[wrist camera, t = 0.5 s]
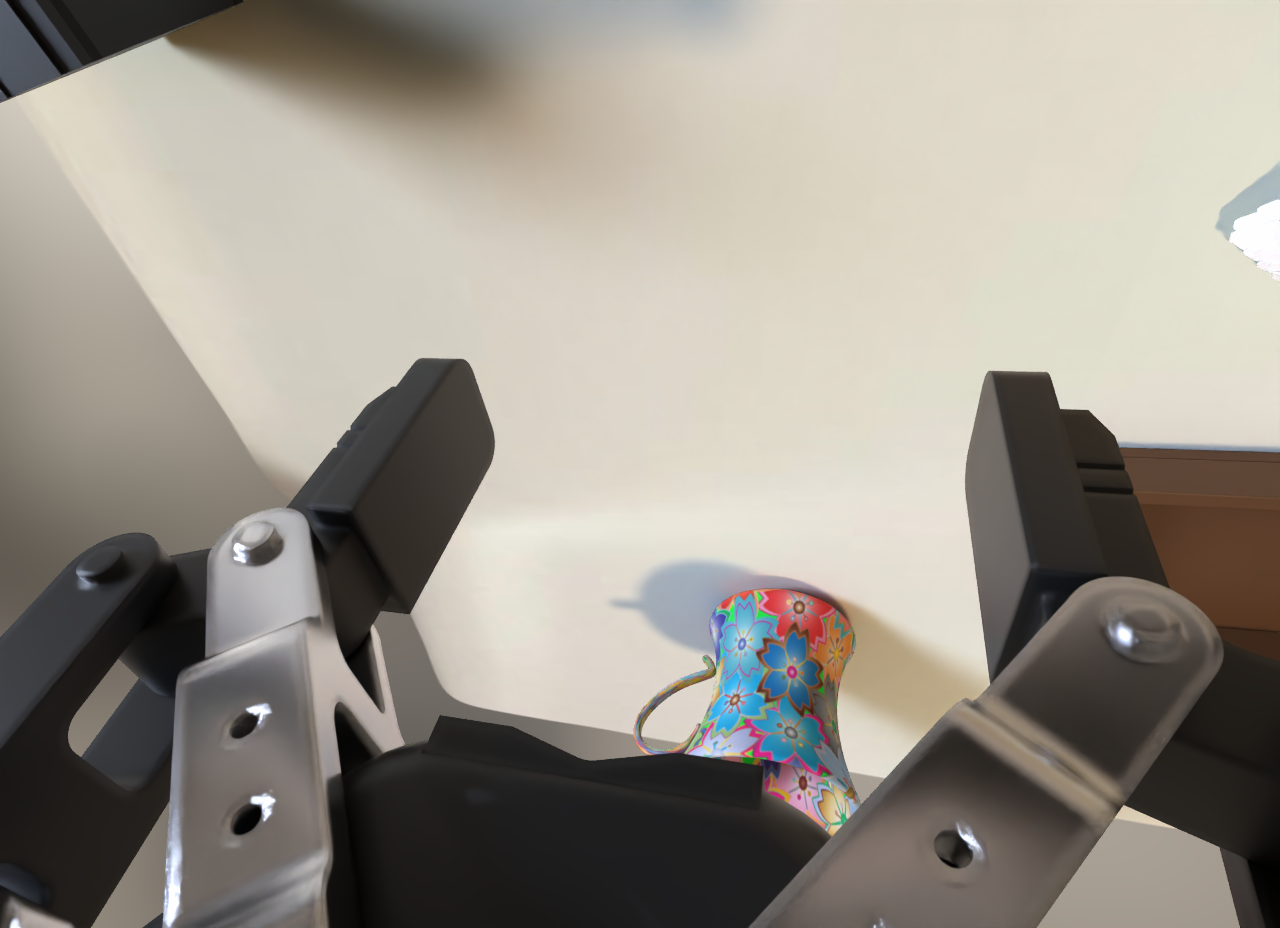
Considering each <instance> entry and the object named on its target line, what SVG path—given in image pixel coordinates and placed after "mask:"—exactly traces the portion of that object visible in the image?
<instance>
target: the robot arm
mask: <svg viewBox="0 0 1280 928" xmlns="http://www.w3.org/2000/svg"><path fill="white" fill-rule="evenodd" d="M350 427H351V430H347V431H346V432H345V434H344V435H343V436H342V438H341V439H340V440H339V441H338V443H337V448H333V449H332V450H331V452H330V453H329V454H328V455H327V457H326V458H325V459H324V460H323V462H322V463H321V464H320V466H319V467H318V468H317V469H316V471H315V472H314V473H313V474H312V476H311V477H310V478H309V480H308V481H307V482H306V483H305V485H304V486H303V487H302V488H301V490H300V491H299V492H298V494H297V495H296V496H295V497H294V499H293V500H292V501H291V503H290V504H289V505H288V506H287V508H274V509H268V510H264V511H261V512H258V513H255V514H253V515H250V516H248V517H246V518H244V519H242V520H241V521H239V522H238V523H236V524H235V525H233V526H232V527H231V528H229V529H228V530H227V531H225V532H224V533H223V534H222V536H221V537H219V539H218V540H217V541H216V543H215V544H214V545H213V547H212V548H210V549H205V550H199V551H194V552H188V553H183V554H177V555H172V556H168V554H167V553H166V552H165V551H164V550H163V548H162V547H161V546H160V545H159V544H158V542H157V541H156V540H155V539H154V538H153V537H152V536H150V535H148V534H144V533H128V534H122V535H119V536H115V537H112V538H110V539H107V540H104V541H102V542H100V543H98V544H96V545H94V546H93V547H91V548H89V549H88V550H86V551H85V552H83V553H82V554H80V555H79V556H78V557H77V558H75V559H74V560H73V561H72V562H71V563H70V564H69V565H68V566H67V567H66V568H65V569H64V570H63V571H62V572H61V573H60V574H59V575H58V576H57V577H56V578H55V580H54V581H53V582H52V583H51V584H50V585H49V586H48V587H47V588H46V589H45V590H44V591H43V592H42V594H41V595H40V596H39V597H38V598H37V599H36V600H35V601H34V602H33V603H32V604H31V605H30V606H29V607H28V609H27V610H26V611H25V612H24V613H23V614H22V615H21V616H20V617H19V618H18V619H17V620H16V621H15V622H14V624H13V625H12V626H11V627H10V628H9V629H8V630H7V631H6V632H5V633H4V634H3V635H2V636H1V637H0V928H91V926H92V925H93V923H94V922H95V920H96V918H97V917H98V915H99V913H100V912H101V910H102V909H103V907H104V906H105V904H106V902H107V901H108V899H109V897H110V896H111V894H112V893H113V891H114V889H115V888H116V886H117V885H118V883H119V881H120V880H121V878H122V877H123V875H124V873H125V872H126V870H127V868H128V867H129V865H130V864H131V862H132V860H133V859H134V857H135V856H136V854H137V852H138V851H139V849H140V847H141V846H142V844H143V843H144V841H145V839H146V838H147V836H148V835H149V833H150V831H151V830H152V828H153V826H154V825H155V823H156V822H157V820H158V818H159V816H160V815H161V814H162V812H163V810H164V809H165V807H166V806H167V804H168V802H169V801H170V806H169V824H168V842H167V861H166V878H165V897H164V912H163V913H161V914H160V915H159V916H158V917H156V918H155V919H153V920H152V921H151V922H149V923H148V924H147V925H146V926H144V927H143V928H1036V927H1037V926H1038V925H1039V923H1040V922H1041V921H1042V919H1043V918H1044V916H1045V915H1046V914H1047V912H1048V911H1049V909H1050V908H1051V906H1052V905H1053V904H1054V902H1055V901H1056V899H1057V898H1058V897H1059V895H1060V894H1061V892H1062V891H1063V889H1064V888H1065V886H1066V885H1067V884H1068V883H1069V881H1070V880H1071V878H1072V877H1073V876H1074V874H1075V873H1076V871H1077V870H1078V868H1079V867H1080V866H1081V864H1082V863H1083V861H1084V860H1085V859H1086V857H1087V856H1088V854H1089V853H1090V852H1091V850H1092V849H1093V847H1094V846H1095V845H1096V843H1097V842H1098V840H1099V839H1100V837H1101V836H1102V835H1103V833H1104V832H1105V830H1106V829H1107V827H1108V826H1109V825H1110V823H1111V822H1112V821H1113V819H1114V818H1115V816H1116V815H1117V813H1118V812H1119V811H1120V809H1121V808H1122V806H1123V805H1125V806H1127V807H1130V808H1132V809H1134V810H1136V811H1139V812H1141V813H1143V814H1146V815H1148V816H1150V817H1152V818H1155V819H1157V820H1159V821H1161V822H1164V823H1166V824H1168V825H1171V826H1173V827H1175V828H1177V829H1180V830H1182V831H1184V832H1187V833H1189V834H1191V835H1193V836H1196V837H1198V838H1200V839H1203V840H1205V841H1207V842H1209V843H1212V844H1214V845H1216V846H1218V847H1220V851H1221V855H1222V858H1223V862H1224V867H1225V870H1226V874H1227V878H1228V882H1229V886H1230V890H1231V894H1232V898H1233V902H1234V906H1235V909H1236V913H1237V917H1238V921H1239V925H1240V928H1280V661H1277V660H1274V659H1271V658H1268V657H1265V656H1262V655H1259V654H1256V653H1253V652H1251V651H1248V650H1245V649H1243V648H1240V647H1238V646H1236V645H1234V644H1232V643H1230V642H1228V641H1226V640H1224V639H1222V638H1221V637H1220V635H1219V633H1218V631H1217V629H1216V628H1215V626H1214V624H1213V623H1212V622H1211V620H1210V619H1209V618H1208V617H1207V616H1206V614H1205V613H1203V612H1202V611H1201V610H1200V609H1199V608H1198V607H1197V606H1196V605H1195V604H1193V603H1192V602H1191V601H1189V600H1188V599H1186V598H1185V597H1183V596H1182V595H1180V594H1178V593H1176V592H1175V591H1173V590H1171V588H1170V586H1169V584H1168V581H1167V579H1166V576H1165V573H1164V570H1163V568H1162V565H1161V562H1160V559H1159V557H1158V554H1157V551H1156V548H1155V546H1154V543H1153V540H1152V537H1151V535H1150V532H1149V529H1148V526H1147V523H1146V521H1145V518H1144V515H1143V512H1142V510H1141V507H1140V504H1139V501H1138V499H1137V496H1136V495H1134V494H1133V491H1134V488H1133V485H1132V482H1131V479H1130V477H1129V474H1128V471H1125V463H1124V460H1123V457H1122V454H1121V452H1120V449H1119V446H1118V443H1117V441H1116V438H1115V436H1114V435H1113V434H1112V433H1111V432H1110V431H1109V430H1108V429H1107V428H1106V427H1105V426H1104V425H1103V424H1102V423H1101V422H1100V421H1099V420H1098V419H1097V418H1096V417H1095V416H1094V415H1093V414H1092V413H1091V412H1090V411H1089V410H1069V409H1060V407H1059V404H1058V401H1057V397H1056V394H1055V390H1054V387H1053V383H1052V380H1051V377H1050V375H1049V373H1047V372H1015V371H988V372H987V374H986V376H985V379H984V382H983V386H982V391H981V395H980V400H979V405H978V409H977V414H976V418H975V423H974V427H973V432H972V436H971V441H970V445H969V450H968V455H967V462H966V474H965V491H966V501H967V509H968V516H969V524H970V532H971V539H972V547H973V555H974V563H975V570H976V578H977V586H978V593H979V601H980V609H981V617H982V624H983V632H984V640H985V647H986V655H987V663H988V671H989V678H990V686H989V687H988V688H987V689H986V690H985V691H984V692H983V693H982V694H981V695H980V696H979V697H978V698H977V699H976V700H974V701H971V700H969V699H967V698H965V699H962V700H961V701H959V702H958V703H956V704H955V705H954V706H953V707H952V708H950V709H949V710H948V711H947V712H946V713H945V714H944V715H943V716H942V717H941V719H940V720H939V721H938V722H937V723H936V724H935V725H934V726H933V727H932V728H931V729H930V731H929V732H928V733H927V734H926V735H925V736H924V737H923V738H922V739H921V740H920V741H919V742H918V744H917V745H916V746H915V747H914V748H913V749H912V750H911V751H910V752H909V753H908V754H907V756H906V757H905V758H904V759H903V760H902V761H901V762H900V763H899V764H898V765H897V766H896V767H895V769H894V770H893V771H892V772H891V773H890V774H889V775H888V776H887V777H886V778H885V779H884V781H883V782H882V783H881V784H880V785H879V786H878V787H877V788H876V789H875V790H874V791H873V793H872V794H871V795H870V796H869V797H868V798H867V799H866V800H865V801H864V802H863V803H862V804H861V806H860V807H859V808H858V809H857V810H856V811H855V812H854V813H853V814H852V815H851V816H850V817H849V819H848V820H847V821H846V822H845V823H844V824H843V825H842V826H841V827H840V828H839V829H838V831H837V832H836V833H835V834H834V835H833V836H831V835H830V834H829V833H828V832H827V831H826V830H825V829H824V828H823V827H821V826H820V825H819V824H818V823H816V822H815V821H814V820H813V819H811V818H810V817H809V816H808V815H806V814H805V813H804V812H802V811H800V810H799V809H797V808H796V807H794V806H792V805H791V804H789V803H787V802H786V801H784V800H782V799H780V798H778V797H776V796H774V795H772V794H769V793H767V792H765V777H764V766H760V765H754V764H747V763H741V762H735V761H728V760H722V759H715V758H709V757H703V756H696V755H690V754H684V753H667V754H657V755H647V756H638V757H626V758H616V759H606V760H597V761H589V760H583V759H580V758H577V757H576V756H573V755H571V754H569V753H567V752H565V751H563V750H560V749H558V748H556V747H554V746H552V745H550V744H548V743H546V742H544V741H542V740H540V739H538V738H535V737H533V736H531V735H529V734H527V733H525V732H523V731H520V730H519V729H516V728H514V727H511V726H504V725H498V724H492V723H486V722H479V721H473V720H467V719H460V718H454V717H448V716H441V715H440V716H439V718H438V721H437V723H436V725H435V727H434V730H433V732H432V734H431V736H430V738H429V740H424V741H419V742H415V743H411V744H407V745H405V744H404V741H403V739H402V737H401V734H400V731H399V728H398V724H397V720H396V715H395V710H394V705H393V701H392V696H391V691H390V686H389V681H388V677H387V672H386V667H385V662H384V657H383V653H382V648H381V643H380V638H379V635H378V632H377V630H376V629H375V627H374V625H373V623H374V621H375V620H376V618H377V616H378V614H379V613H380V611H386V612H396V613H403V614H410V613H411V611H412V609H413V607H414V605H415V603H416V602H417V600H418V598H419V596H420V594H421V592H422V590H423V589H424V587H425V585H426V583H427V581H428V579H429V578H430V576H431V574H432V572H433V570H434V568H435V566H436V565H437V563H438V561H439V559H440V557H441V555H442V554H443V552H444V550H445V548H446V546H447V544H448V542H449V541H450V539H451V537H452V535H453V533H454V531H455V530H456V528H457V526H458V524H459V522H460V520H461V518H462V517H463V515H464V513H465V511H466V509H467V507H468V506H469V504H470V502H471V500H472V498H473V496H474V494H475V493H476V491H477V489H478V487H479V485H480V483H481V482H482V480H483V478H484V476H485V474H486V472H487V470H488V469H489V467H490V465H491V462H492V459H493V455H494V447H495V439H494V432H493V428H492V425H491V422H490V419H489V416H488V413H487V411H486V408H485V405H484V402H483V399H482V396H481V393H480V390H479V387H478V385H477V382H476V379H475V376H474V373H473V370H472V368H471V366H470V364H469V363H468V362H467V361H466V360H464V359H438V358H421V359H418V360H417V361H416V362H415V363H414V364H413V365H412V367H411V368H410V369H409V371H408V372H407V373H406V375H405V376H404V377H403V378H402V380H401V381H400V382H399V384H398V385H397V386H396V387H391V388H390V389H388V390H387V391H386V392H384V393H383V394H382V395H380V396H379V397H377V398H376V399H375V400H373V401H372V402H370V403H369V404H368V405H367V406H366V407H365V408H364V409H363V411H362V412H361V413H360V415H359V416H358V417H357V418H356V420H355V421H354V422H353V423H352V425H351V426H350ZM117 659H119V660H120V661H121V662H122V663H124V664H125V665H126V666H127V667H128V668H129V669H130V670H131V671H132V672H133V673H134V674H135V675H136V676H138V677H139V679H138V681H137V682H136V683H135V685H134V686H133V688H132V689H131V690H130V692H129V693H128V694H127V696H126V697H125V698H124V700H123V701H122V702H121V704H120V705H119V707H118V708H117V709H116V711H115V712H114V713H113V715H112V716H111V717H110V719H109V720H108V721H107V723H106V724H105V725H104V727H103V728H102V729H101V731H100V732H99V734H98V735H97V736H96V738H95V739H94V740H93V742H92V743H91V745H90V746H89V747H88V748H87V750H86V751H85V753H84V754H83V755H82V757H80V756H78V755H77V754H76V753H74V752H73V751H72V749H71V748H70V745H69V742H68V730H69V726H70V723H71V721H72V719H73V717H74V715H75V714H76V712H77V711H78V710H79V708H80V707H81V706H82V704H83V703H84V702H85V701H86V699H87V698H88V697H89V695H90V694H91V693H92V692H93V690H94V689H95V688H96V686H97V685H98V684H99V683H100V681H101V680H102V679H103V677H104V676H105V675H106V674H107V672H108V671H109V670H110V668H111V667H112V666H113V665H114V663H115V662H116V661H117Z"/></svg>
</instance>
